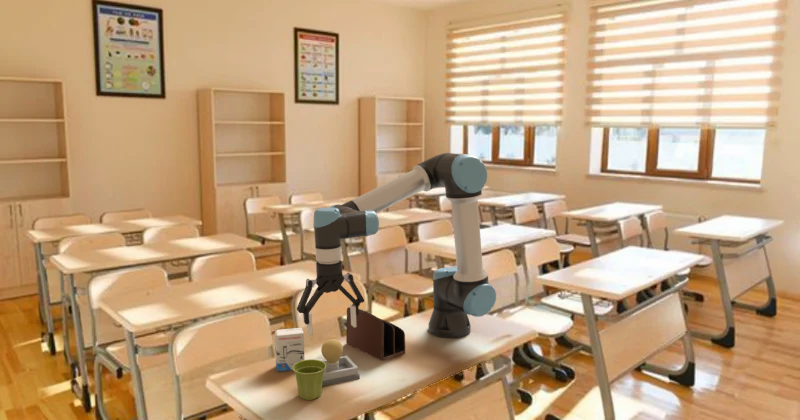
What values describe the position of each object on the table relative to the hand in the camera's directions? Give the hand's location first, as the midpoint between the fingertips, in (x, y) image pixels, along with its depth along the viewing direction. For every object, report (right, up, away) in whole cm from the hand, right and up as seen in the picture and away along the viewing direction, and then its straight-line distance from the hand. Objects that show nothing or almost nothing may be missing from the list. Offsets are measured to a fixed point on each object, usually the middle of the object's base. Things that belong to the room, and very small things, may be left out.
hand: (332, 330), depth 180 cm
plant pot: (-5, -16, -11) cm, 20 cm away
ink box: (-14, -13, +8) cm, 21 cm away
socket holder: (0, -14, +2) cm, 14 cm away
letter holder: (+12, -11, +22) cm, 28 cm away
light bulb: (0, -13, +2) cm, 13 cm away
